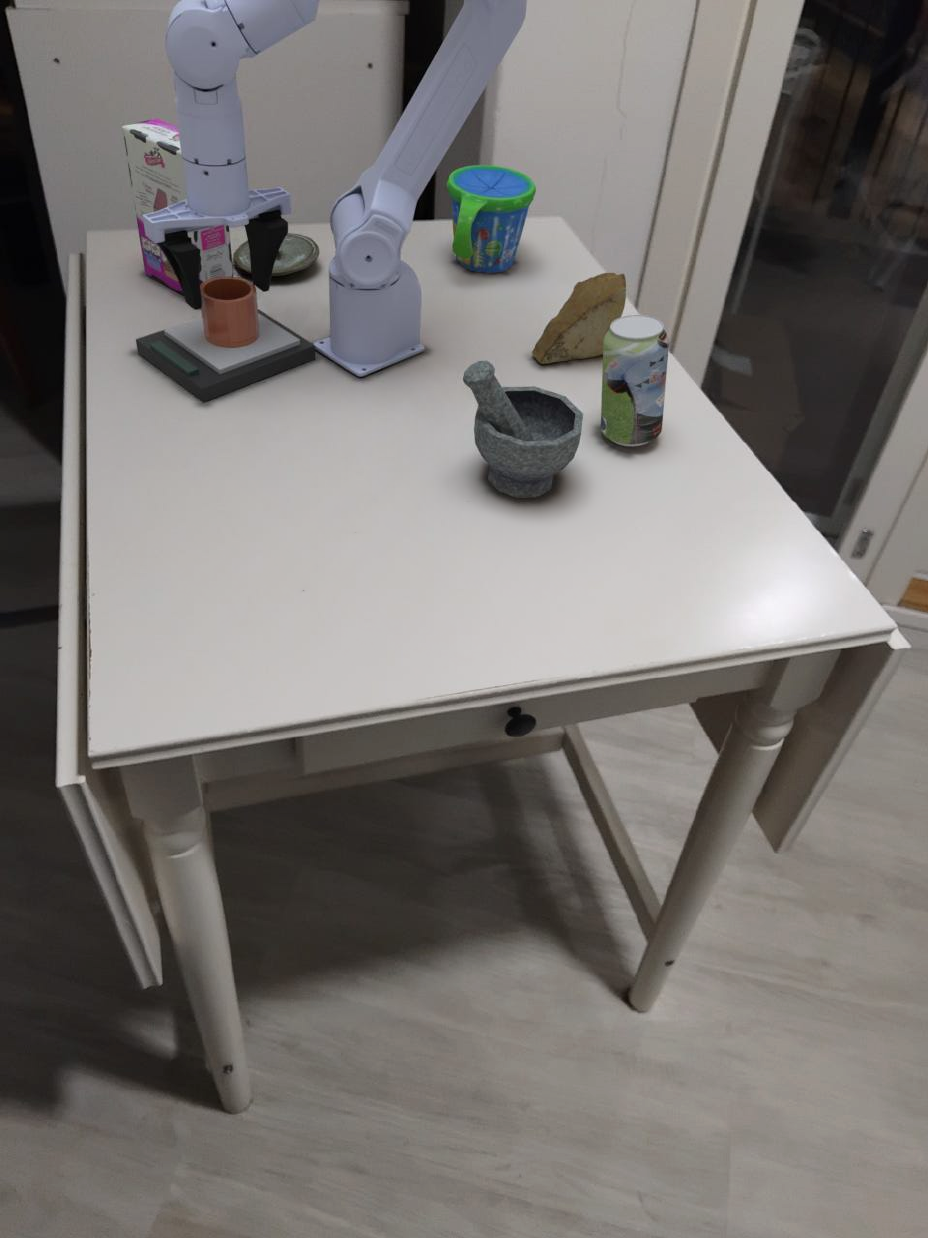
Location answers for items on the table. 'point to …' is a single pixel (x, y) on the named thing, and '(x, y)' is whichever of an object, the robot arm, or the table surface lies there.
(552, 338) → the rock
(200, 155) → the robot arm
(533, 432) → the mortar and pestle
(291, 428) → the table surface
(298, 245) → the lid
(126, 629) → the table surface
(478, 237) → the snack cup
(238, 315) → the terracotta cup
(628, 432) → the beverage can
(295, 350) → the scale
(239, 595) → the table surface
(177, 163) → the candy bar box
